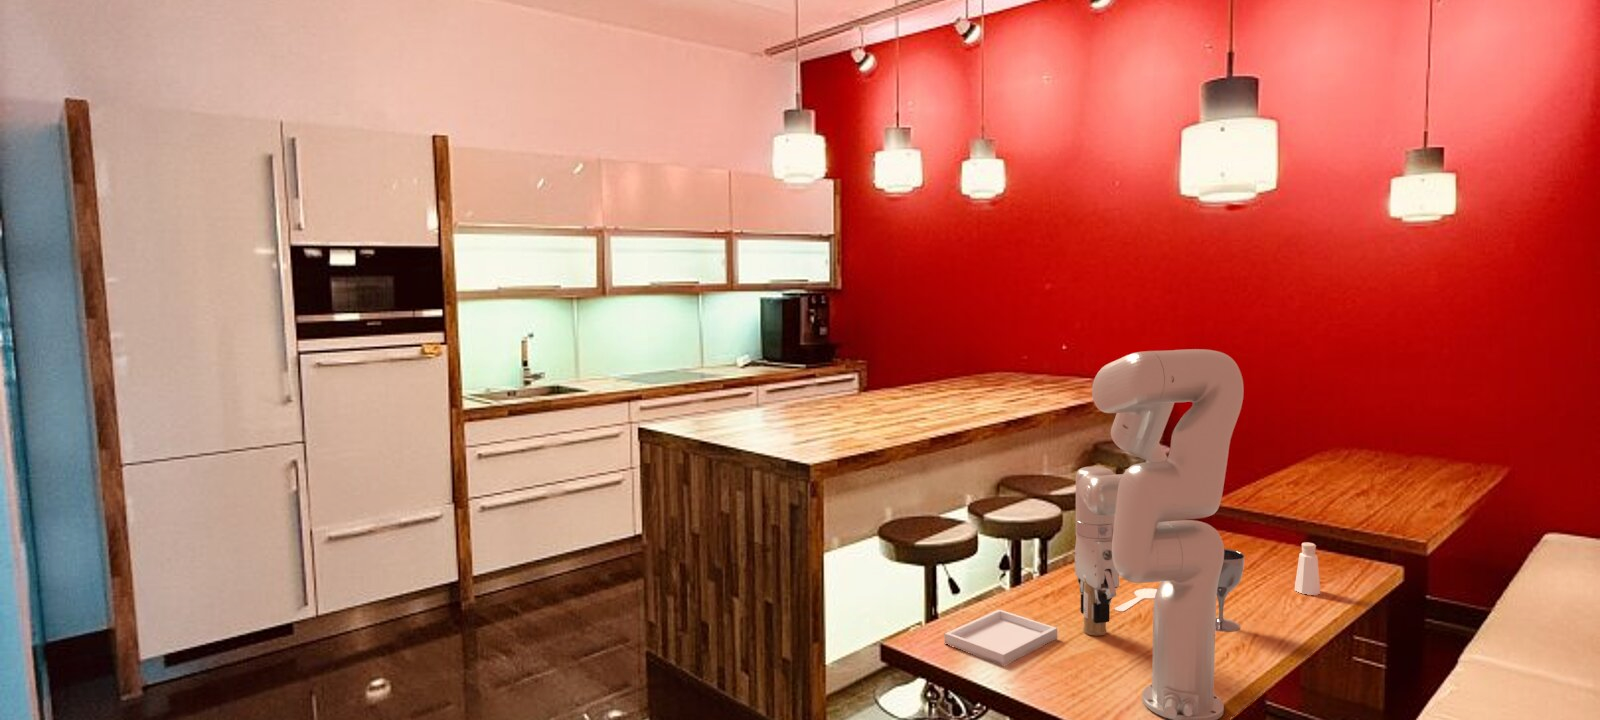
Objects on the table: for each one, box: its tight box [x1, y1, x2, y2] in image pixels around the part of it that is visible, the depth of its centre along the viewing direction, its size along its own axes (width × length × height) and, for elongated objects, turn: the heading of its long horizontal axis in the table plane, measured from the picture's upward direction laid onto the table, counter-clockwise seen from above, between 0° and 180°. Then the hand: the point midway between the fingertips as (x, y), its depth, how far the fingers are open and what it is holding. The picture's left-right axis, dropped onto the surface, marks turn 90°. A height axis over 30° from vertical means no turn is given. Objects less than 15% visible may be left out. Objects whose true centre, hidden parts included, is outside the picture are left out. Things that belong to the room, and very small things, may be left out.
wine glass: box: [1215, 547, 1245, 633], centre depth 182 cm, size 8×8×15 cm
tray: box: [944, 609, 1058, 667], centre depth 177 cm, size 18×14×2 cm
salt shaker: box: [1294, 541, 1321, 596], centre depth 200 cm, size 5×5×11 cm
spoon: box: [1114, 587, 1158, 612], centre depth 197 cm, size 5×18×1 cm, turn 133°
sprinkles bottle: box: [1082, 574, 1107, 637], centre depth 180 cm, size 5×5×14 cm
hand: (1094, 616), depth 180 cm, fingers closed on sprinkles bottle, 4 cm apart
